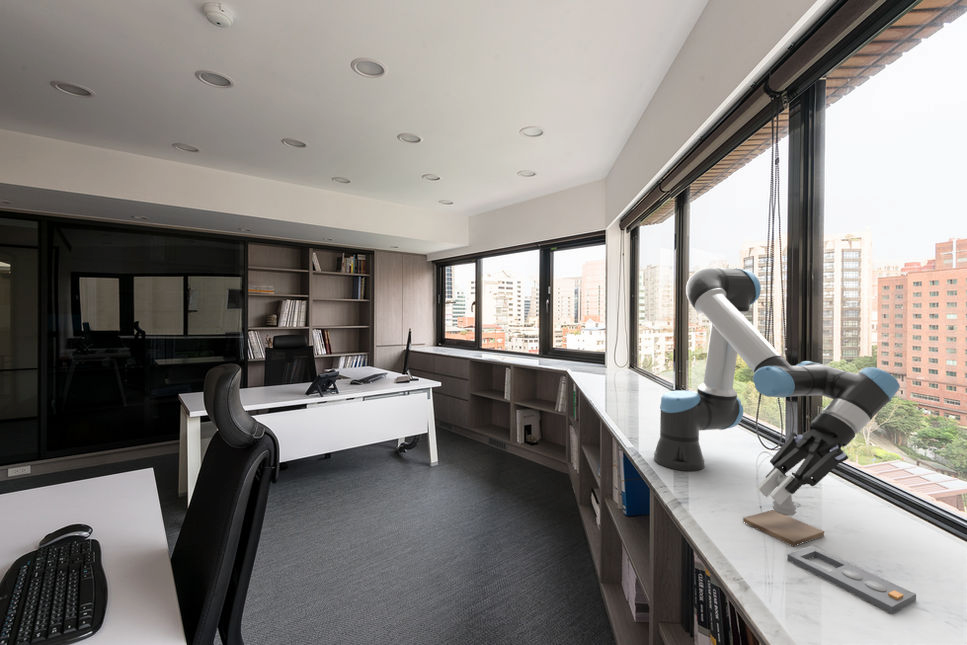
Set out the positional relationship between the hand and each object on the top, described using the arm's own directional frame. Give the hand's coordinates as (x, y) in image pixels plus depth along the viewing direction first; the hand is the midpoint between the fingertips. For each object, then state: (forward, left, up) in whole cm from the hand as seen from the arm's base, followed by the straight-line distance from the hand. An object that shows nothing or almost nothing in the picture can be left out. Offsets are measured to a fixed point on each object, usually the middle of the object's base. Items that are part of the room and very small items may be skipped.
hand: (768, 496), depth 94 cm
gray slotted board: (+17, -4, -8) cm, 19 cm away
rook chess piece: (+1, +4, -4) cm, 6 cm away
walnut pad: (+1, +4, -8) cm, 9 cm away
